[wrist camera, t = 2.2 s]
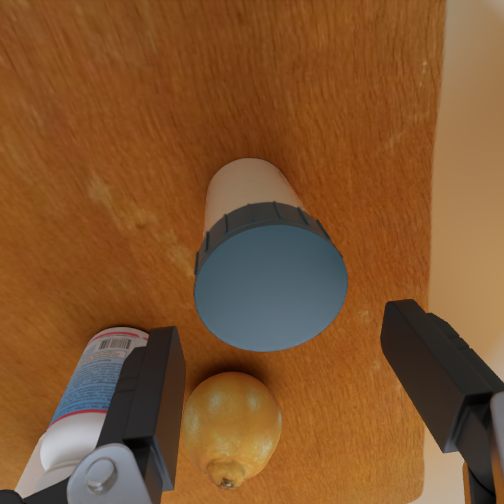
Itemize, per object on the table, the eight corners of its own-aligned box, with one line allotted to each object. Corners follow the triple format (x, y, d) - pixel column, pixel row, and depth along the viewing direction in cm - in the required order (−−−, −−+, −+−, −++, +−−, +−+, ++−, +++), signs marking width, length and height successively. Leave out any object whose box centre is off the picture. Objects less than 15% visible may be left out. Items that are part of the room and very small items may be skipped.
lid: (184, 208, 13) (178, 233, 11) (335, 193, 13) (357, 215, 11) (205, 324, 16) (203, 360, 14) (328, 309, 16) (344, 343, 14)
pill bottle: (76, 364, 27) (-5, 531, 17) (103, 312, 25) (28, 470, 15) (145, 386, 29) (109, 546, 19) (176, 340, 27) (153, 495, 17)
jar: (200, 161, 20) (187, 231, 11) (290, 153, 20) (345, 215, 12) (211, 242, 23) (208, 348, 14) (291, 234, 23) (336, 333, 14)
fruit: (167, 443, 29) (212, 530, 24) (164, 374, 26) (216, 454, 20) (241, 403, 34) (294, 466, 28) (247, 339, 31) (308, 397, 25)
